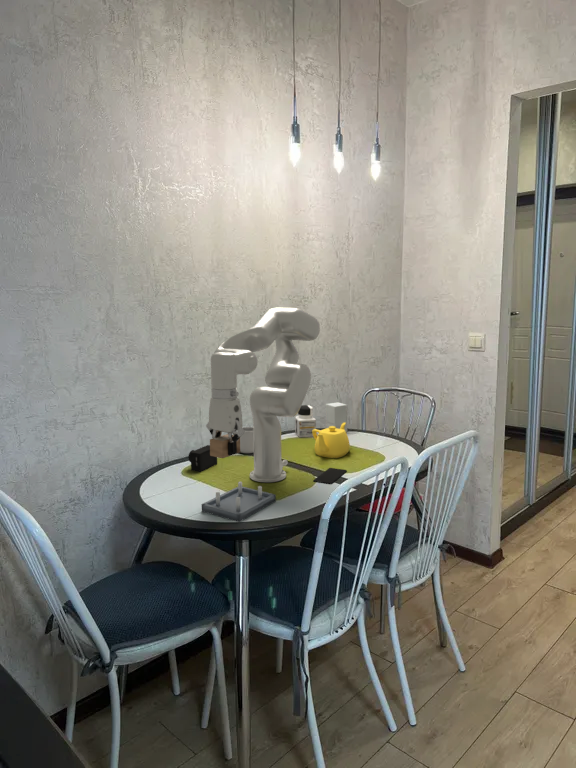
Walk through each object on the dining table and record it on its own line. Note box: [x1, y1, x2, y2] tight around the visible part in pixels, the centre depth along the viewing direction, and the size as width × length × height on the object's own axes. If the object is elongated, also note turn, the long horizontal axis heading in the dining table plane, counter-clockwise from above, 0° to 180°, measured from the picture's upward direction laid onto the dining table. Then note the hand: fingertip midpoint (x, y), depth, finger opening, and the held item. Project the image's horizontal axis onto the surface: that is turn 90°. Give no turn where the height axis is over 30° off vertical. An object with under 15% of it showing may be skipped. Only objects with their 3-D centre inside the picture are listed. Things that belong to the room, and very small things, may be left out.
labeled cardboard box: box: [209, 433, 241, 459], centre depth 169 cm, size 8×5×5 cm, turn 144°
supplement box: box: [325, 401, 348, 433], centre depth 252 cm, size 7×7×13 cm
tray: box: [201, 481, 277, 523], centre depth 168 cm, size 18×14×5 cm
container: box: [294, 404, 317, 438], centre depth 247 cm, size 8×8×13 cm
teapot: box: [312, 422, 351, 459], centre depth 220 cm, size 22×16×11 cm
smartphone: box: [312, 467, 348, 485], centre depth 194 cm, size 7×1×15 cm
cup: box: [236, 426, 254, 454], centre depth 224 cm, size 7×10×9 cm
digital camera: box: [187, 444, 218, 473], centre depth 204 cm, size 10×5×7 cm, turn 152°
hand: (225, 452), depth 169 cm, fingers closed on labeled cardboard box, 5 cm apart
